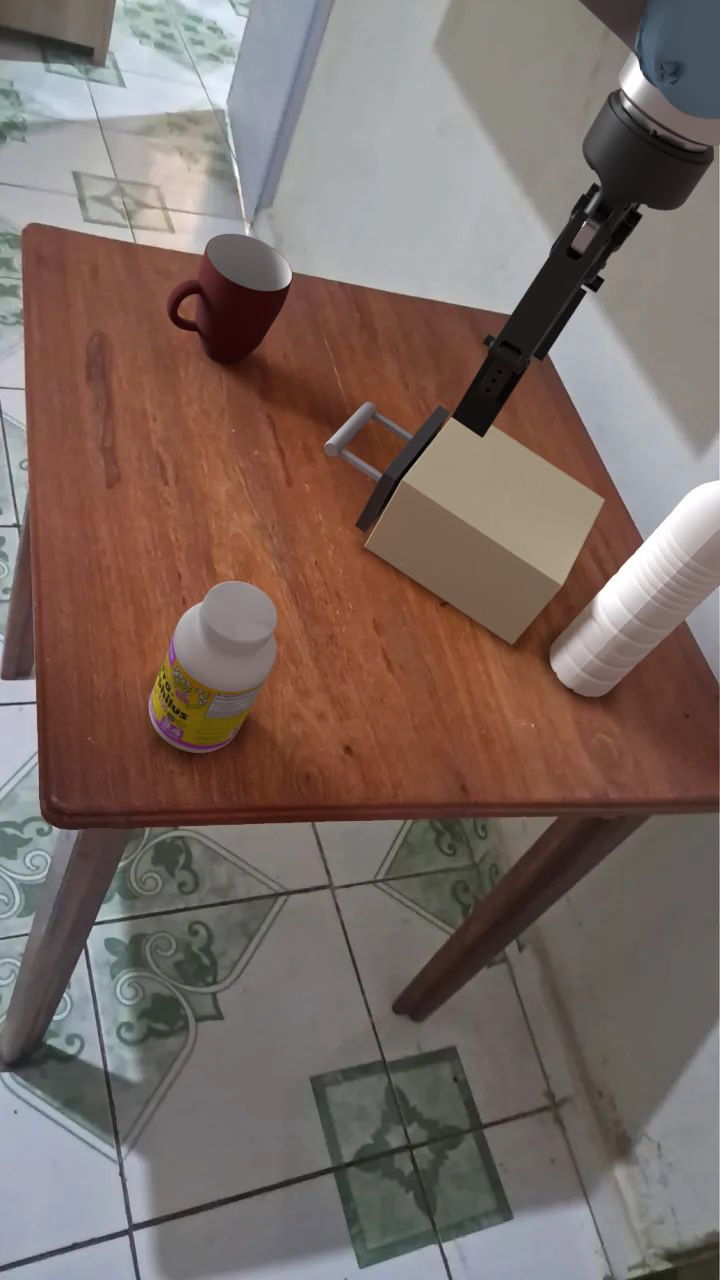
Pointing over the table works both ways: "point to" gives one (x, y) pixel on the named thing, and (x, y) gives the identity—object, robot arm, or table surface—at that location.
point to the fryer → (486, 527)
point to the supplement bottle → (214, 668)
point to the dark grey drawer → (397, 467)
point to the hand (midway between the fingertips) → (500, 386)
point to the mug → (234, 296)
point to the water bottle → (644, 597)
